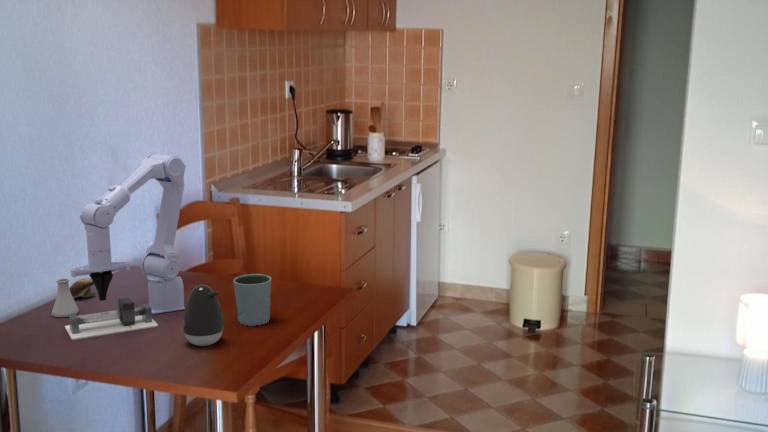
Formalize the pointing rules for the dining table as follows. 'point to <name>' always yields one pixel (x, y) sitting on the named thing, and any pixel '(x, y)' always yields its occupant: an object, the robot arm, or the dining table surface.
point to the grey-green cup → (253, 298)
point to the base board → (108, 328)
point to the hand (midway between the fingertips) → (102, 299)
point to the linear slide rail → (107, 317)
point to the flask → (64, 300)
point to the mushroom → (82, 288)
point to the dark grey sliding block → (127, 311)
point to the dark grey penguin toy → (203, 317)
